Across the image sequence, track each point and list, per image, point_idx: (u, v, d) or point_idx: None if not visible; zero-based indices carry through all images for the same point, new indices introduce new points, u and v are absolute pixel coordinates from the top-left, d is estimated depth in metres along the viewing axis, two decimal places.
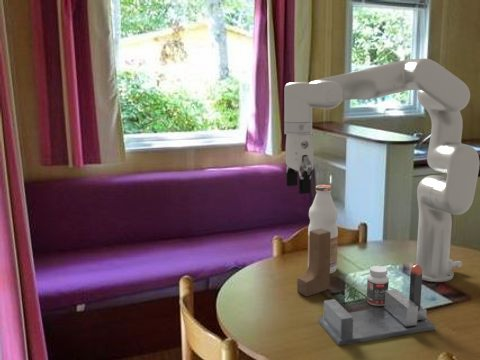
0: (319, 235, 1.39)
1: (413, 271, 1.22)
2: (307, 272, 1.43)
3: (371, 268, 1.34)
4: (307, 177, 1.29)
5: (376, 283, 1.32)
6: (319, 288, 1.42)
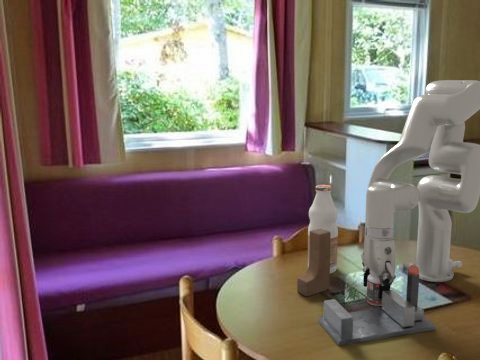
0: (319, 235, 1.39)
1: (410, 271, 1.22)
2: (307, 272, 1.43)
3: None
4: (388, 284, 1.29)
5: (376, 283, 1.32)
6: (319, 288, 1.42)
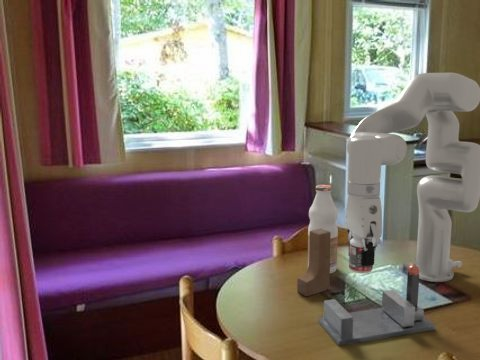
0: (319, 235, 1.39)
1: (410, 271, 1.22)
2: (307, 272, 1.43)
3: None
4: (372, 248, 1.14)
5: (359, 246, 1.16)
6: (319, 288, 1.42)
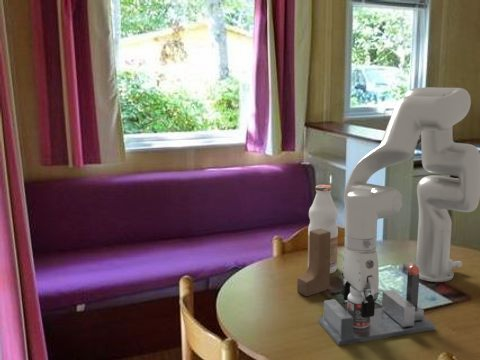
0: (319, 235, 1.39)
1: (410, 271, 1.22)
2: (307, 272, 1.43)
3: (352, 286, 1.20)
4: (372, 301, 1.14)
5: (357, 303, 1.18)
6: (319, 288, 1.42)
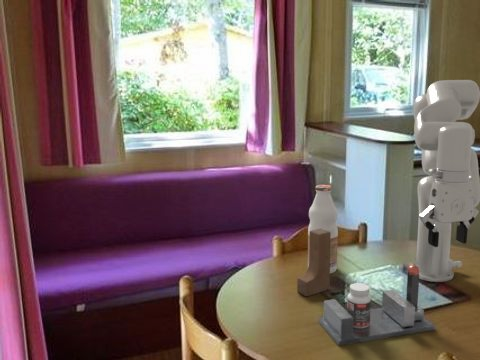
0: (319, 235, 1.39)
1: (410, 271, 1.22)
2: (307, 272, 1.43)
3: (351, 286, 1.20)
4: (428, 228, 1.21)
5: (357, 303, 1.18)
6: (319, 288, 1.42)
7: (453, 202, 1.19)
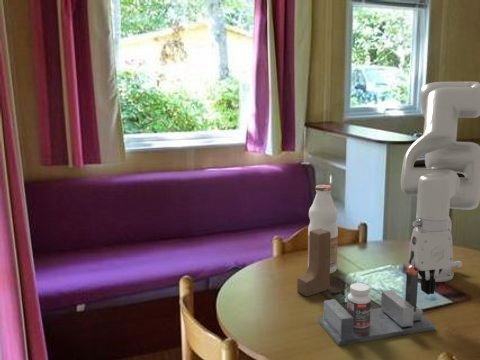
0: (319, 235, 1.39)
1: (409, 272, 1.22)
2: (307, 272, 1.43)
3: (352, 286, 1.20)
4: (421, 276, 1.24)
5: (357, 303, 1.18)
6: (319, 288, 1.42)
7: (433, 250, 1.20)
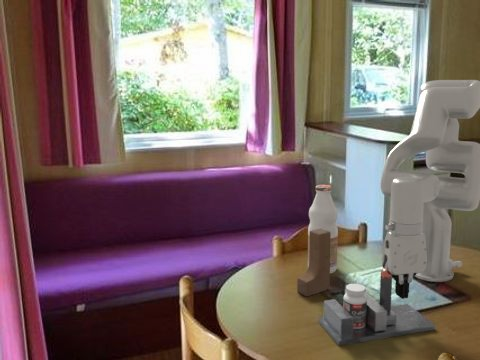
0: (319, 235, 1.39)
1: (383, 275, 1.20)
2: (307, 272, 1.43)
3: (347, 287, 1.20)
4: (395, 280, 1.22)
5: (353, 303, 1.18)
6: (319, 288, 1.42)
7: (406, 254, 1.18)
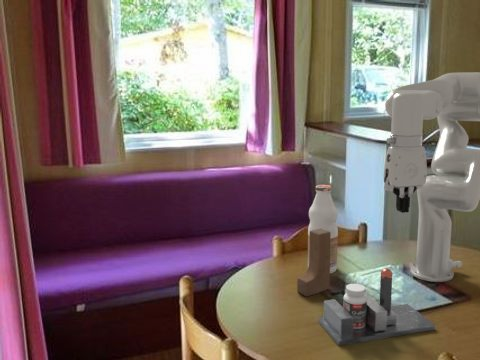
0: (319, 235, 1.39)
1: (383, 275, 1.20)
2: (307, 272, 1.43)
3: (347, 287, 1.20)
4: (396, 194, 1.26)
5: (353, 303, 1.18)
6: (319, 288, 1.42)
7: (406, 167, 1.22)
